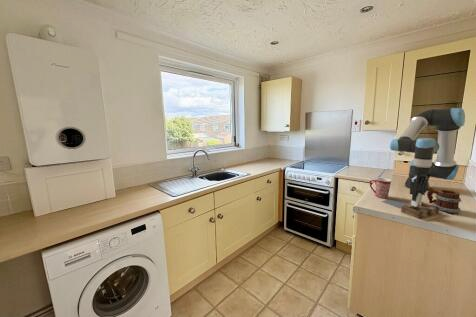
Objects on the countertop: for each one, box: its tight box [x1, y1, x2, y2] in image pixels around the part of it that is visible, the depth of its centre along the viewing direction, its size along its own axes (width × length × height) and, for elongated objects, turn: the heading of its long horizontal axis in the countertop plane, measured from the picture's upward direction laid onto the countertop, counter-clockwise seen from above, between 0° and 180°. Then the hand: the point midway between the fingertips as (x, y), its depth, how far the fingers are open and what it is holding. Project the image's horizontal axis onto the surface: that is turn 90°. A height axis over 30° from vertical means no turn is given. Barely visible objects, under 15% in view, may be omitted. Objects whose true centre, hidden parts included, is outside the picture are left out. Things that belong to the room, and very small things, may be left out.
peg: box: [412, 192, 421, 210], centre depth 114 cm, size 3×3×12 cm
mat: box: [380, 197, 411, 209], centre depth 130 cm, size 14×12×1 cm
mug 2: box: [426, 186, 462, 215], centre depth 119 cm, size 12×14×15 cm
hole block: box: [400, 201, 440, 220], centre depth 116 cm, size 18×9×4 cm, turn 110°
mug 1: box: [369, 177, 392, 200], centre depth 142 cm, size 13×9×14 cm
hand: (415, 205), depth 114 cm, fingers closed on peg, 3 cm apart
